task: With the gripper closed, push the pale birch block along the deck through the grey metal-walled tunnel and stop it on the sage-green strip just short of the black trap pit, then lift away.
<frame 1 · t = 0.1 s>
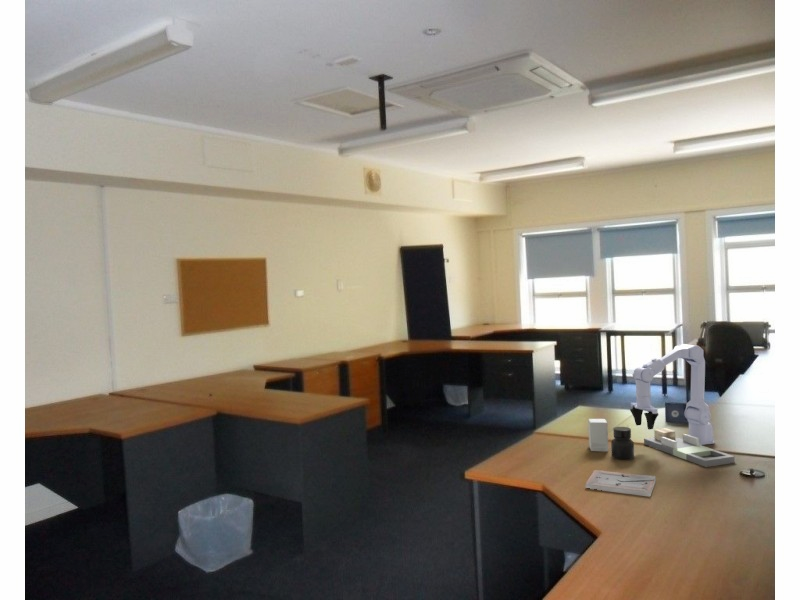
hand: (644, 427, 258), 10 cm above the table, tool pointing down, fingers open, 7 cm apart
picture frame: (620, 486, 218), on the table
ink bottle: (622, 457, 250), on the table
birch block: (665, 439, 265), point 2 cm above the table, touching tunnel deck
vhs cassette tape: (685, 423, 300), on the table
supplement box: (598, 449, 263), on the table
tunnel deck: (687, 452, 252), on the table
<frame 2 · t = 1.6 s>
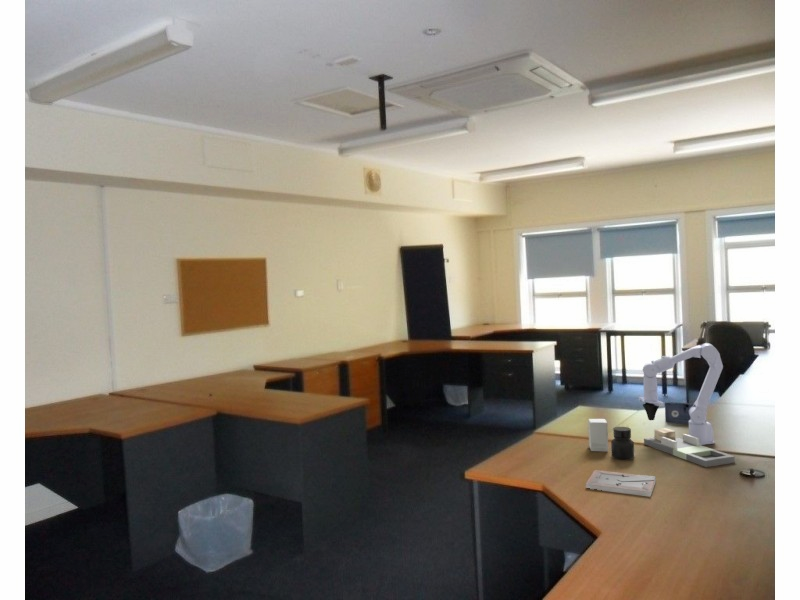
hand: (651, 419, 272), 9 cm above the table, tool pointing down, fingers closed
nothing on the table moved.
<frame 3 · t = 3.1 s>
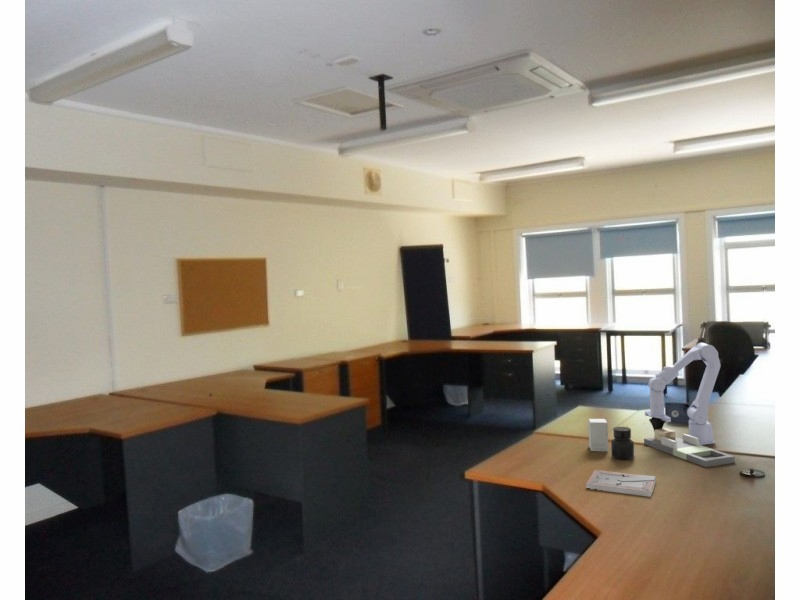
hand: (657, 434, 269), 3 cm above the table, tool pointing down, fingers closed
birch block: (665, 439, 265), point 3 cm above the table, touching gripper, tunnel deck
everything else where it was.
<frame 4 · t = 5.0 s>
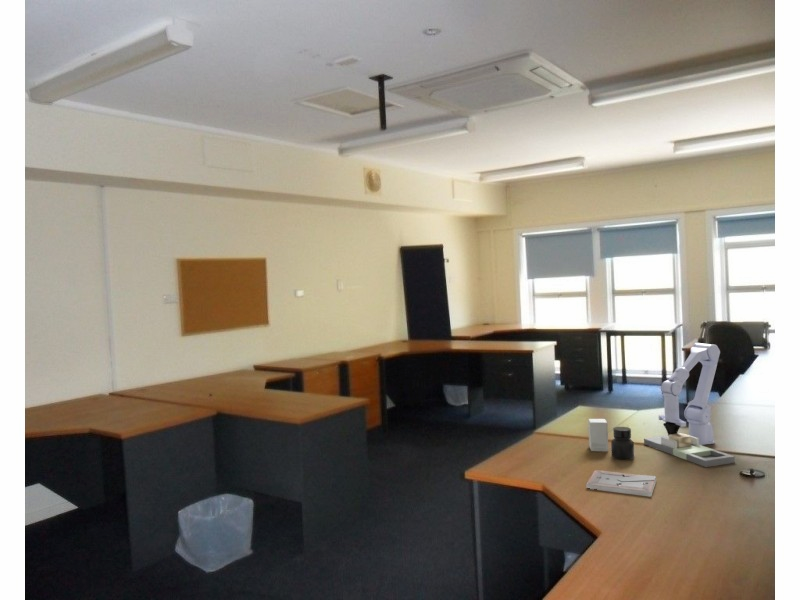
hand: (672, 439, 260), 4 cm above the table, tool pointing down, fingers closed
birch block: (679, 444, 256), point 2 cm above the table, touching gripper, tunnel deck
everything else where it was.
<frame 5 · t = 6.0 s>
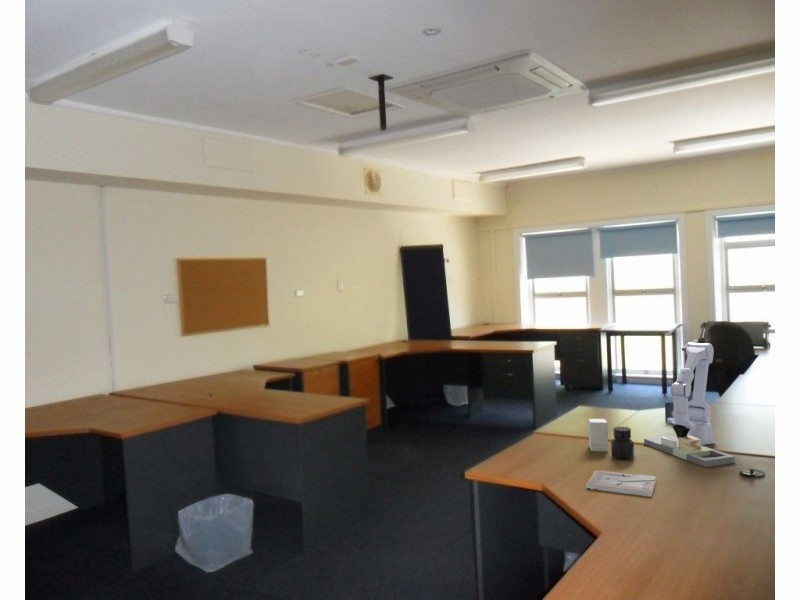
hand: (681, 443, 255), 4 cm above the table, tool pointing down, fingers closed
birch block: (689, 448, 251), point 2 cm above the table, touching gripper, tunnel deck
everything else where it was.
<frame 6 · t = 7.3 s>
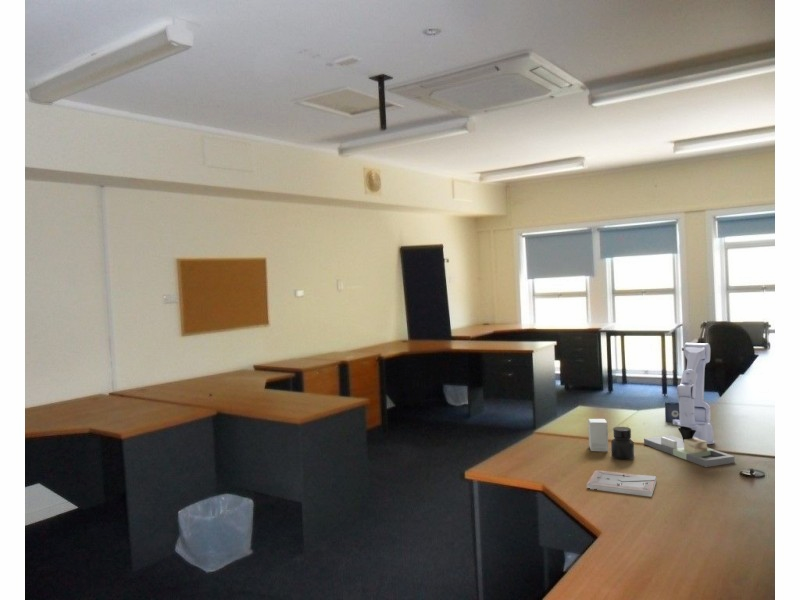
hand: (687, 445, 252), 4 cm above the table, tool pointing down, fingers closed
birch block: (695, 450, 247), point 2 cm above the table, touching gripper, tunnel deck
everything else where it was.
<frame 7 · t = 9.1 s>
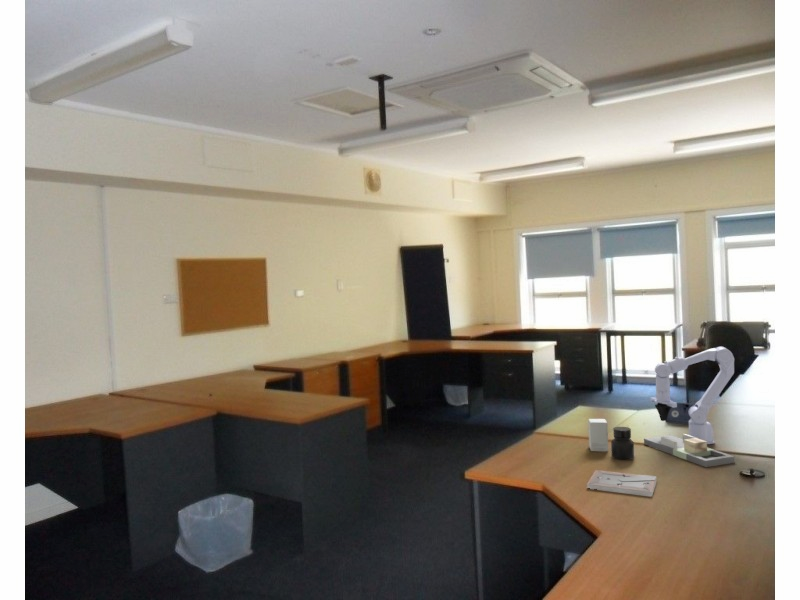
hand: (663, 420, 270), 9 cm above the table, tool pointing down, fingers closed
birch block: (695, 450, 247), point 2 cm above the table, touching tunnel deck
everything else where it was.
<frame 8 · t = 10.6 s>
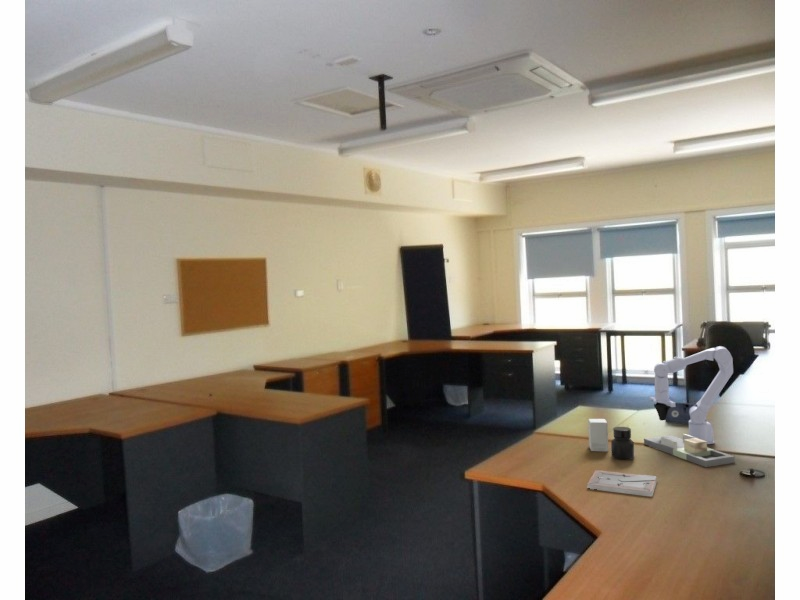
hand: (662, 420, 271), 9 cm above the table, tool pointing down, fingers closed
nothing on the table moved.
at the end: birch block 0.2 cm from the target spot, point 2.5 cm above the table; birch block tilted 0° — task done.
